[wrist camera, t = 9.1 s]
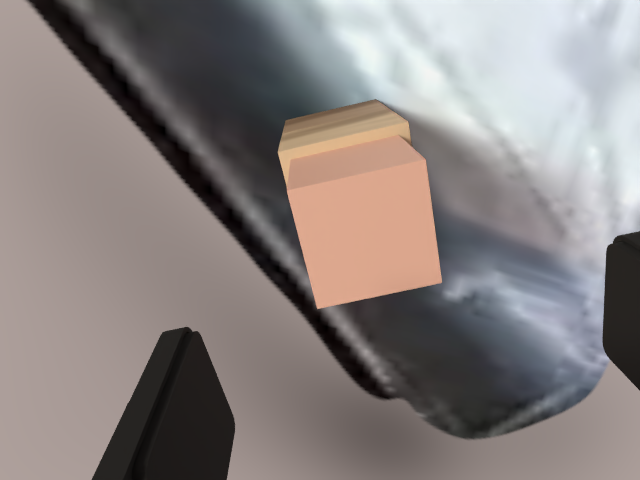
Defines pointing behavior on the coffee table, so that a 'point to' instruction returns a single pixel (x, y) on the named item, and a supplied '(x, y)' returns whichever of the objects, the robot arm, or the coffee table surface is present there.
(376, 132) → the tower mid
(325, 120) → the tower base
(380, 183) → the terracotta block
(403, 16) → the coffee table surface
